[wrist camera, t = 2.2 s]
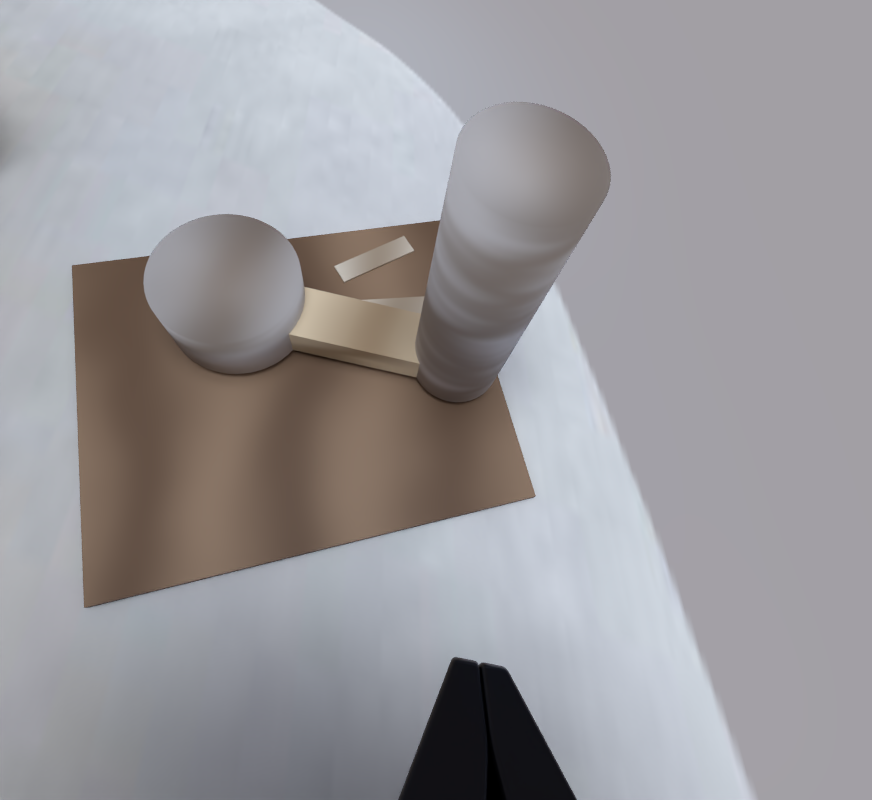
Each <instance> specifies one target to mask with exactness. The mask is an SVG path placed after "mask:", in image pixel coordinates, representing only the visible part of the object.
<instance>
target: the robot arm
mask: <svg viewBox="0 0 872 800" xmlns="http://www.w3.org/2000/svg"><path fill="white" fill-rule="evenodd" d="M398 800H577V799H576V797H575V795H574V793H573V792H572V790H571V788H570V786H569V784H568V782H567V780H566V778H565V777H564V775H563V773H562V771H561V769H560V767H559V765H558V763H557V762H556V760H555V758H554V756H553V754H552V752H551V750H550V748H549V747H548V745H547V743H546V741H545V739H544V737H543V735H542V733H541V732H540V730H539V728H538V726H537V724H536V722H535V720H534V718H533V717H532V715H531V713H530V711H529V709H528V707H527V705H526V704H525V702H524V700H523V698H522V696H521V694H520V692H519V690H518V689H517V687H516V685H515V683H514V681H513V679H512V677H511V675H510V674H509V672H508V670H507V669H506V668H504V667H503V666H499V665H494V664H489V663H480V664H479V665H478V663H477V662H476V661H473V660H468V659H463V658H458V657H454V658H453V659H452V660H451V662H450V665H449V667H448V670H447V673H446V675H445V678H444V681H443V683H442V686H441V688H440V691H439V694H438V696H437V699H436V702H435V704H434V707H433V709H432V712H431V715H430V717H429V720H428V723H427V725H426V728H425V731H424V733H423V736H422V738H421V741H420V744H419V746H418V749H417V752H416V754H415V757H414V759H413V762H412V765H411V767H410V770H409V773H408V775H407V778H406V781H405V783H404V786H403V788H402V791H401V794H400V796H399V799H398Z"/></svg>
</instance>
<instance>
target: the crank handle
mask: <svg viewBox="0 0 872 800" xmlns="http://www.w3.org/2000/svg"><path fill="white" fill-rule="evenodd" d="M610 175H611V174H610V167H609V163H608V159H607V156H606V154H605V152H604V150H603V149H602V147H601V145H600V144H599V142H598V141H597V139H596V138H595V137H594V136H593V135H592V134H591V133H590V132H589V131H588V130H587V129H586V128H585V127H584V126H583V125H581V124H580V123H579V122H578V121H576V120H575V119H573V118H572V117H570V116H568V115H566V114H564V113H562V112H560V111H558V110H556V109H553V108H550V107H547V106H543V105H539V104H534V103H527V102H509V103H502V104H497V105H494V106H491V107H488V108H485V109H483V110H481V111H480V112H478V113H477V114H475V115H474V116H473V117H471V118H470V119H469V120H468V121H467V122H466V124H465V125H464V126H463V127H462V129H461V131H460V133H459V136H458V139H457V142H456V147H455V151H454V156H453V161H452V166H451V171H450V176H449V180H448V185H447V190H446V195H445V200H444V205H443V209H442V214H441V219H440V224H439V229H438V234H437V238H436V243H435V248H434V253H433V258H432V263H431V267H430V272H429V277H428V282H427V287H426V292H425V296H424V301H423V306H422V311H421V314H420V313H415V312H411V311H407V310H402V309H398V308H394V307H389V306H385V305H381V304H376V303H372V302H368V301H363V300H359V299H355V298H351V297H346V296H342V295H338V294H333V293H329V292H325V291H320V290H316V289H312V288H307V287H304V282H303V277H302V272H301V267H300V262H299V259H298V256H297V254H296V251H295V250H294V248H293V246H292V245H291V244H290V242H289V241H288V240H287V239H286V238H285V237H284V236H283V235H282V234H281V233H280V232H279V231H277V230H276V229H275V228H273V227H272V226H270V225H268V224H266V223H264V222H262V221H259V220H257V219H254V218H250V217H246V216H241V215H231V214H222V215H212V216H206V217H202V218H198V219H195V220H192V221H190V222H187V223H185V224H183V225H181V226H179V227H178V228H176V229H175V230H173V231H172V232H170V233H169V234H168V235H167V236H165V237H164V238H163V239H162V240H161V241H160V242H159V243H158V245H157V246H156V247H155V249H154V250H153V252H152V253H151V255H150V257H149V259H148V262H147V264H146V267H145V272H144V282H143V284H144V292H145V296H146V299H147V302H148V304H149V306H150V308H151V309H152V311H153V312H154V314H155V315H156V317H157V318H158V319H159V321H160V322H161V323H162V325H163V326H164V327H165V329H166V330H167V332H168V333H169V334H170V336H171V337H172V338H173V340H174V341H175V342H176V344H177V345H178V347H179V348H180V349H181V351H182V352H183V353H184V354H185V355H186V356H187V357H188V358H190V359H191V360H192V361H193V362H195V363H197V364H199V365H200V366H202V367H204V368H207V369H209V370H213V371H216V372H220V373H227V374H244V373H251V372H256V371H259V370H262V369H265V368H267V367H270V366H272V365H274V364H276V363H277V362H279V361H281V360H282V359H283V358H285V357H286V356H287V355H288V354H289V353H290V352H291V351H292V350H296V351H301V352H305V353H310V354H314V355H318V356H323V357H327V358H332V359H336V360H341V361H345V362H350V363H354V364H359V365H363V366H368V367H372V368H376V369H381V370H385V371H390V372H394V373H399V374H403V375H408V376H412V377H416V378H417V379H418V381H419V383H420V384H421V385H422V386H423V387H424V388H425V389H426V390H427V391H428V392H429V393H430V394H432V395H434V396H435V397H437V398H440V399H442V400H445V401H450V402H466V401H470V400H473V399H475V398H477V397H479V396H481V395H482V394H484V393H485V392H486V391H487V390H488V389H489V388H490V386H491V385H492V383H493V382H494V380H495V378H496V377H497V375H498V373H499V372H500V370H501V369H502V367H503V365H504V364H505V362H506V360H507V359H508V357H509V355H510V354H511V352H512V350H513V349H514V347H515V346H516V344H517V342H518V341H519V339H520V337H521V336H522V334H523V332H524V331H525V329H526V328H527V326H528V324H529V323H530V321H531V319H532V318H533V316H534V314H535V313H536V311H537V309H538V308H539V306H540V305H541V303H542V301H543V300H544V298H545V296H546V295H547V293H548V291H549V290H550V288H551V287H552V285H553V283H554V282H555V280H556V278H557V277H558V275H559V273H560V272H561V270H562V268H563V267H564V265H565V263H566V262H567V260H568V259H569V257H570V255H571V254H572V252H573V250H574V249H575V247H576V246H577V244H578V242H579V241H580V239H581V237H582V236H583V234H584V232H585V231H586V229H587V228H588V226H589V224H590V223H591V221H592V219H593V218H594V216H595V214H596V213H597V211H598V209H599V208H600V206H601V205H602V203H603V201H604V199H605V197H606V196H607V193H608V190H609V186H610V180H611V179H610V177H611V176H610Z"/></svg>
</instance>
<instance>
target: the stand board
mask: <svg viewBox="0 0 872 800" xmlns="http://www.w3.org/2000/svg"><path fill="white" fill-rule="evenodd" d="M439 224H440V221H432V222H423V223H415V224H407V225H399V226H391V227H383V228H374V229H366V230H358V231H350V232H342V233H334V234H325V235H317V236H309V237H301V238H293V239H287V240H288V241H289V242H290V244H291V245H292V246H293V248H294V250H295V251H296V254H297V256H298V259H299V262H300V267H301V272H302V277H303V282H304V287H307V288H312V289H316V290H320V291H325V292H329V293H333V294H338V295H342V296H346V297H351V298H355V299H359V300H363V301H368V302H372V303H376V304H381V305H385V306H389V307H394V308H398V309H402V310H407V311H411V312H415V313H420V314H421V311H422V306H423V301H424V296H425V292H426V287H427V282H428V277H429V272H430V267H431V263H432V258H433V253H434V248H435V243H436V238H437V234H438V229H439ZM149 257H150V256H146V257H138V258H129V259H121V260H113V261H105V262H97V263H89V264H80V265H72V278H73V307H74V335H75V363H76V391H77V420H78V448H79V476H80V504H81V533H82V561H83V589H84V608H87V607H92V606H96V605H100V604H104V603H108V602H112V601H116V600H120V599H124V598H128V597H132V596H136V595H140V594H145V593H149V592H153V591H157V590H161V589H165V588H169V587H173V586H177V585H181V584H185V583H189V582H193V581H197V580H201V579H205V578H209V577H213V576H217V575H221V574H225V573H229V572H233V571H238V570H242V569H246V568H250V567H254V566H258V565H262V564H266V563H270V562H274V561H278V560H282V559H286V558H290V557H294V556H298V555H302V554H306V553H310V552H314V551H318V550H322V549H327V548H331V547H335V546H339V545H343V544H347V543H351V542H355V541H359V540H363V539H367V538H371V537H375V536H379V535H383V534H387V533H391V532H395V531H399V530H403V529H407V528H411V527H415V526H420V525H424V524H428V523H432V522H436V521H440V520H444V519H448V518H452V517H456V516H460V515H464V514H468V513H472V512H476V511H480V510H484V509H488V508H492V507H496V506H500V505H504V504H508V503H513V502H517V501H521V500H525V499H529V498H533V497H535V493H534V489H533V486H532V483H531V480H530V477H529V474H528V470H527V467H526V464H525V461H524V458H523V455H522V451H521V448H520V445H519V442H518V439H517V436H516V432H515V429H514V426H513V423H512V420H511V417H510V413H509V410H508V407H507V404H506V401H505V398H504V394H503V391H502V388H501V385H500V382H499V379H498V375H497V377H496V378H495V380H494V382H493V383H492V385H491V386H490V388H489V389H488V390H487V391H486V392H485V393H484V394H482V395H481V396H479V397H477V398H475V399H473V400H470V401H466V402H450V401H445V400H442V399H440V398H437V397H435V396H434V395H432V394H430V393H429V392H428V391H427V390H426V389H425V388H424V387H423V386H422V385H421V384H420V383H419V381H418V379H417V378H416V377H412V376H408V375H403V374H399V373H394V372H390V371H385V370H381V369H376V368H372V367H368V366H363V365H359V364H354V363H350V362H345V361H341V360H336V359H332V358H327V357H323V356H318V355H314V354H310V353H305V352H301V351H296V350H292V351H291V352H290V353H289V354H288V355H287V356H286V357H285V358H283V359H282V360H281V361H279V362H277V363H276V364H274V365H272V366H270V367H267V368H265V369H262V370H259V371H256V372H251V373H244V374H227V373H220V372H216V371H213V370H209V369H207V368H204V367H202V366H200V365H199V364H197V363H195V362H193V361H192V360H191V359H190V358H188V357H187V356H186V355H185V354H184V353H183V352H182V351H181V349H180V348H179V347H178V345H177V344H176V342H175V341H174V340H173V338H172V337H171V336H170V334H169V333H168V332H167V330H166V329H165V327H164V326H163V325H162V323H161V322H160V321H159V319H158V318H157V317H156V315H155V314H154V312H153V311H152V309H151V308H150V306H149V304H148V302H147V299H146V296H145V292H144V284H143V282H144V272H145V267H146V264H147V262H148V259H149Z"/></svg>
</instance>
